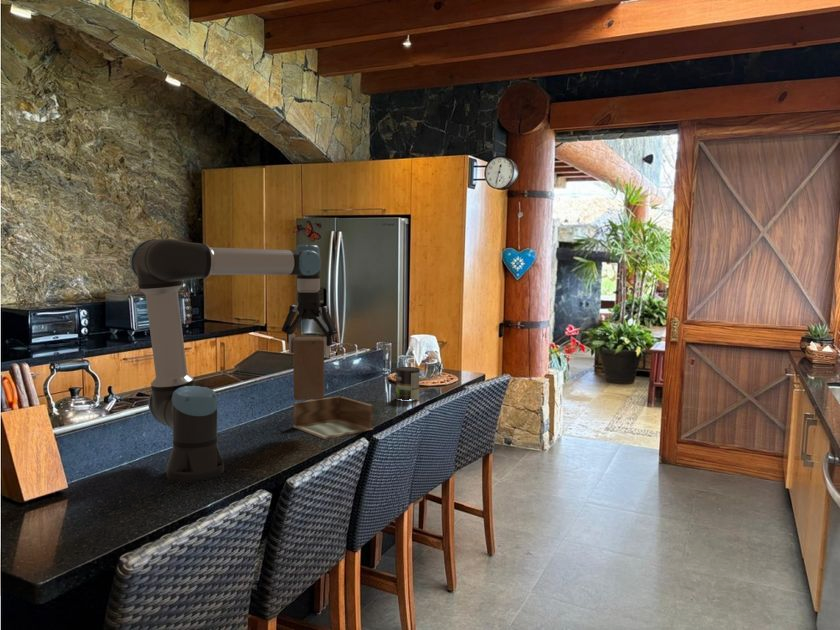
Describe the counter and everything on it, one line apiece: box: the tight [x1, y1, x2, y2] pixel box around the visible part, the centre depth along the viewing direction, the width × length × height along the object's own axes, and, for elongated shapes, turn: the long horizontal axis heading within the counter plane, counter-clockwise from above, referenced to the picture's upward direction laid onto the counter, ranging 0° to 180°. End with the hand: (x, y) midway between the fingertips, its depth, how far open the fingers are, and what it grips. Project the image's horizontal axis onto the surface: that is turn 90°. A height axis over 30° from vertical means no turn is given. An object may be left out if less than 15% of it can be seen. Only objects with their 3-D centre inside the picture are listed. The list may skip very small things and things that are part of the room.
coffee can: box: [395, 366, 421, 400], centre depth 275 cm, size 10×10×14 cm
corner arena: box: [293, 395, 374, 440], centre depth 226 cm, size 20×20×9 cm
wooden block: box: [292, 336, 325, 401], centre depth 216 cm, size 10×10×20 cm
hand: (309, 354), depth 216 cm, fingers closed on wooden block, 13 cm apart
